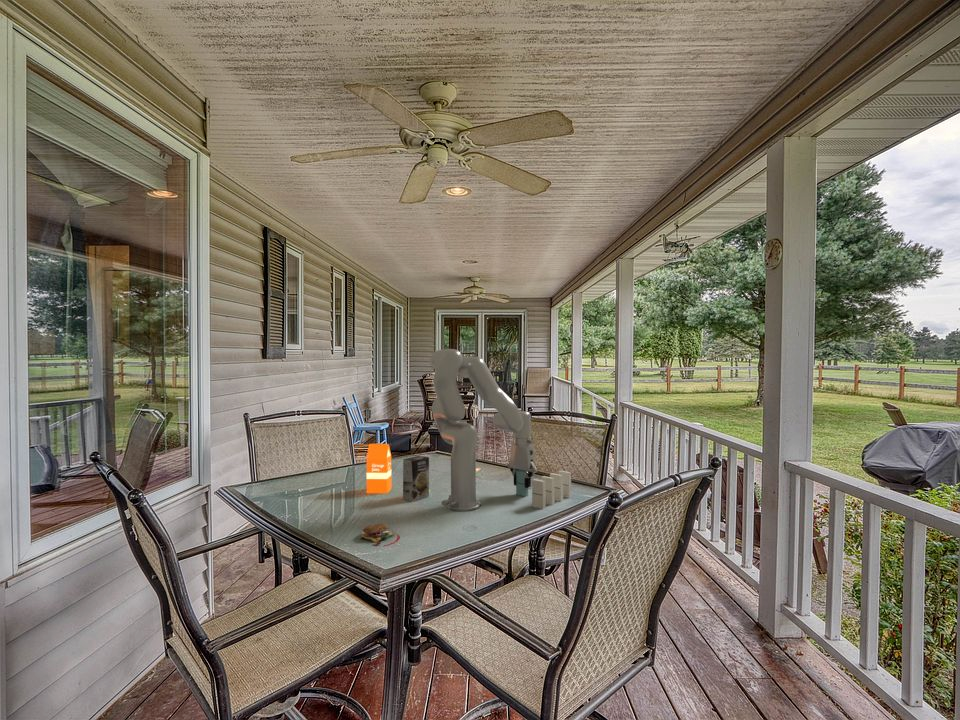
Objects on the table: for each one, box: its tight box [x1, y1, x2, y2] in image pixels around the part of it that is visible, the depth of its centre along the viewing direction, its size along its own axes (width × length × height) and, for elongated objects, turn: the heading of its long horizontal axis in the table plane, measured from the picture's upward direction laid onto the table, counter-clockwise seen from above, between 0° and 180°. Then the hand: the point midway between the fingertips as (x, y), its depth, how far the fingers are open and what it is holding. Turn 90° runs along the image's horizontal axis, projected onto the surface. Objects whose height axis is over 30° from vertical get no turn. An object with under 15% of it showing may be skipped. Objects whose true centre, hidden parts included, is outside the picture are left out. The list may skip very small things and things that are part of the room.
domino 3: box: [540, 475, 556, 506], centre depth 173 cm, size 2×5×10 cm, turn 47°
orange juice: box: [366, 443, 392, 494], centre depth 193 cm, size 8×9×20 cm
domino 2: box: [531, 478, 547, 510], centre depth 169 cm, size 2×5×10 cm, turn 47°
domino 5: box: [558, 470, 572, 499], centre depth 182 cm, size 2×5×10 cm, turn 47°
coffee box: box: [402, 455, 430, 502], centre depth 182 cm, size 9×6×16 cm
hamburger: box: [360, 522, 401, 548], centre depth 139 cm, size 14×14×6 cm
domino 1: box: [515, 470, 529, 497], centre depth 184 cm, size 2×5×10 cm, turn 47°
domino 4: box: [549, 472, 564, 502], centre depth 178 cm, size 2×5×10 cm, turn 47°
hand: (522, 485), depth 184 cm, fingers closed on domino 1, 4 cm apart
